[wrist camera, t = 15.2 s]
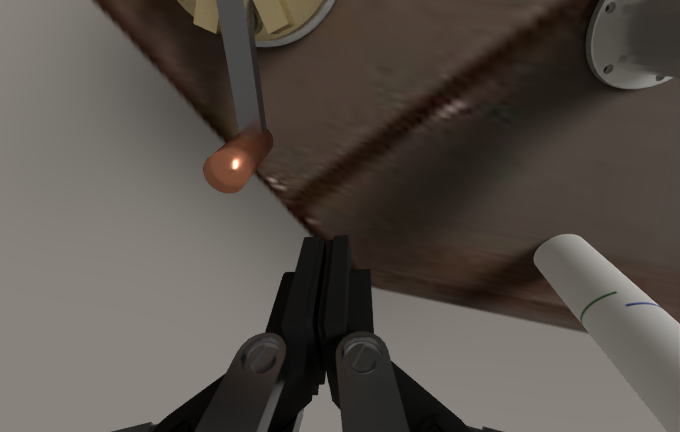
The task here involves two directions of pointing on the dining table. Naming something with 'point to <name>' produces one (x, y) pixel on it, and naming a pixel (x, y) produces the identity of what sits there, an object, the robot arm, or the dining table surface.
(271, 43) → the plate
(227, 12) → the crank handle mechanism
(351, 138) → the dining table surface
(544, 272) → the cylindrical container
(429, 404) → the robot arm
